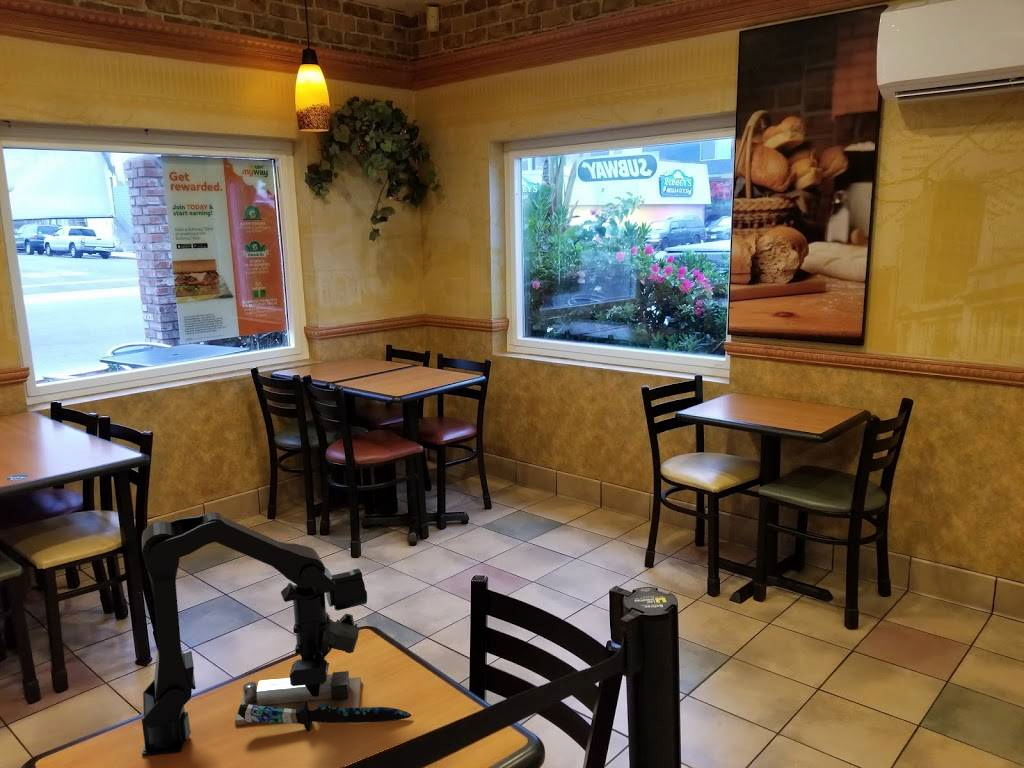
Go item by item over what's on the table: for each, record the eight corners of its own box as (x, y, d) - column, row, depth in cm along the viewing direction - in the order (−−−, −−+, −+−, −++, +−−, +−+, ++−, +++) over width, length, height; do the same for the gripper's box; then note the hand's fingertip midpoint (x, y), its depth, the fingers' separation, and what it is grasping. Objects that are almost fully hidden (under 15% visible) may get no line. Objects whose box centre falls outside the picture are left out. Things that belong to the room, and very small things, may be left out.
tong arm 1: (257, 707, 143) (255, 693, 142) (259, 700, 145) (258, 686, 144) (348, 698, 145) (347, 684, 144) (348, 691, 147) (347, 677, 146)
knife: (236, 729, 136) (236, 707, 135) (241, 718, 139) (241, 696, 138) (409, 738, 139) (410, 716, 138) (410, 726, 142) (412, 705, 141)
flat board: (235, 725, 140) (234, 720, 139) (245, 692, 149) (245, 687, 149) (358, 713, 143) (358, 708, 142) (361, 681, 152) (360, 677, 152)
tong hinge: (243, 705, 143) (241, 690, 143) (245, 697, 146) (244, 682, 145) (256, 704, 144) (255, 688, 143) (258, 696, 146) (257, 681, 145)
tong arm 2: (259, 699, 145) (258, 685, 144) (261, 692, 147) (260, 678, 146) (348, 691, 147) (347, 677, 146) (349, 684, 149) (348, 671, 148)
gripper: (351, 637, 135) (357, 716, 138) (357, 588, 153) (362, 659, 156) (286, 644, 133) (293, 723, 137) (299, 593, 151) (306, 664, 155)
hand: (316, 690), depth 146 cm, fingers open, 3 cm apart
